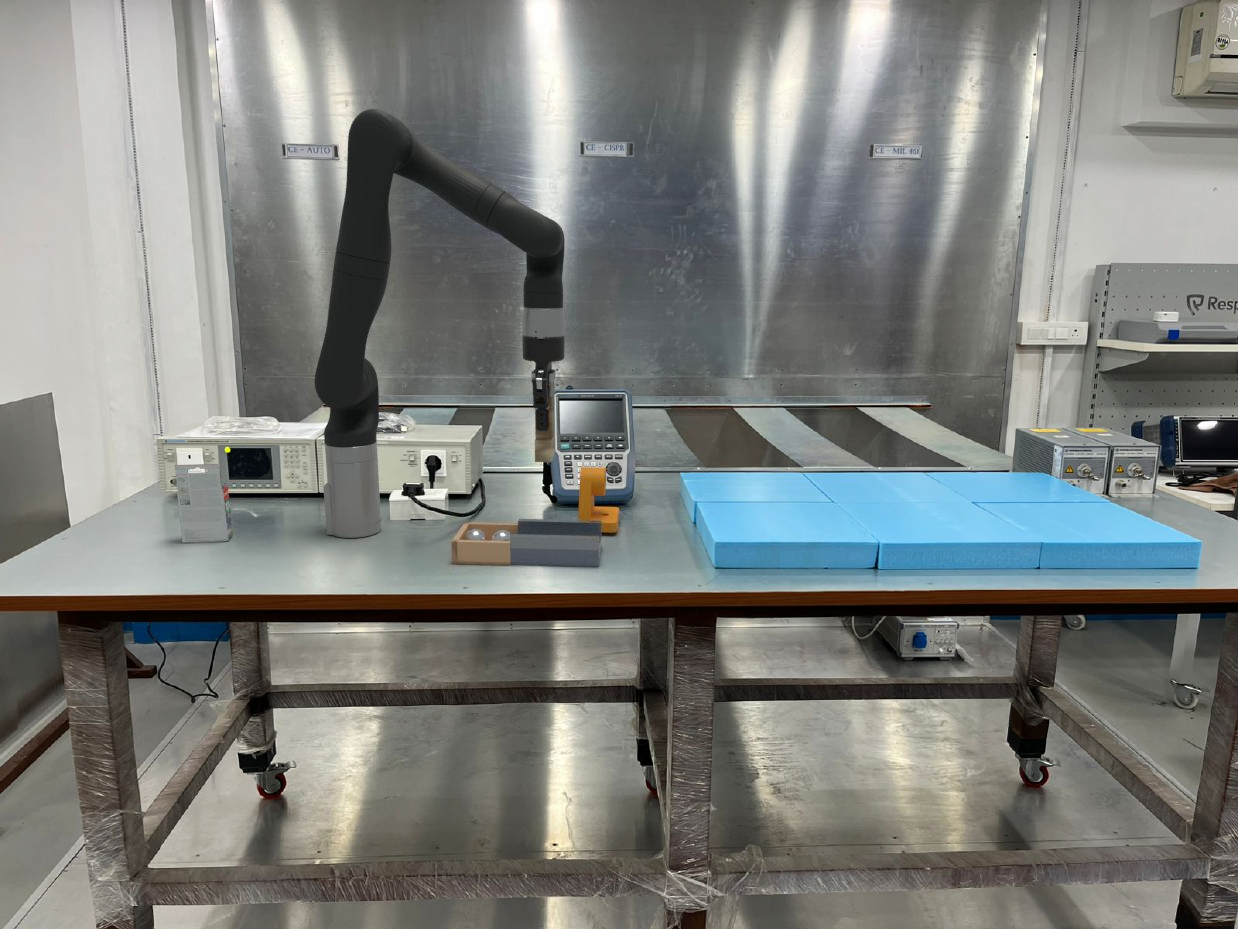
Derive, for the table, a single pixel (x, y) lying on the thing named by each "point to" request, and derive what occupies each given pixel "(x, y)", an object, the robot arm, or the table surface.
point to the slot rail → (557, 543)
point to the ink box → (203, 504)
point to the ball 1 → (475, 535)
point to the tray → (482, 545)
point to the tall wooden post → (545, 436)
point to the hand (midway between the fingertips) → (543, 427)
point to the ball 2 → (501, 536)
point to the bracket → (590, 486)
